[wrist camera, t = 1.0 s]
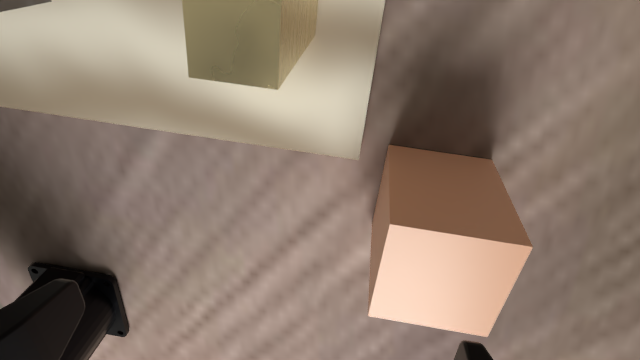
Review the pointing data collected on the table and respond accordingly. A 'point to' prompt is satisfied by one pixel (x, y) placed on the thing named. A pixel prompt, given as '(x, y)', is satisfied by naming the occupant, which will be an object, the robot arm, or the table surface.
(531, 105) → the table surface
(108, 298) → the robot arm
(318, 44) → the post board
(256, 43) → the post
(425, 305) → the peach rectangular block
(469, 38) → the table surface
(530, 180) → the table surface
